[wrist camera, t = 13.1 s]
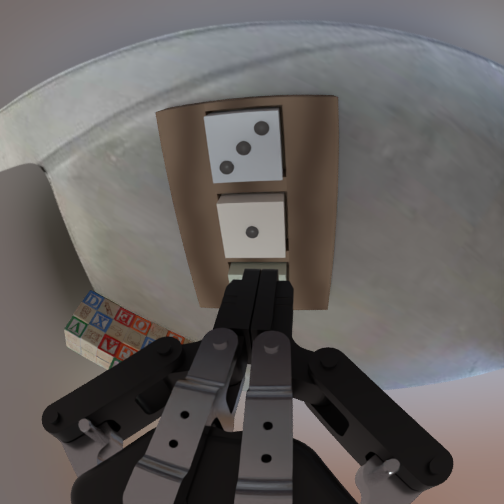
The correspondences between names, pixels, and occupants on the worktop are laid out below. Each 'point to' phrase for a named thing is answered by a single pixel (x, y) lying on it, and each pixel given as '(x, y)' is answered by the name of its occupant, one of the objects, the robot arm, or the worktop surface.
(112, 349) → the stack of blocks
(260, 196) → the key
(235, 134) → the key
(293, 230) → the key panel
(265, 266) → the key
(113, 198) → the worktop surface
